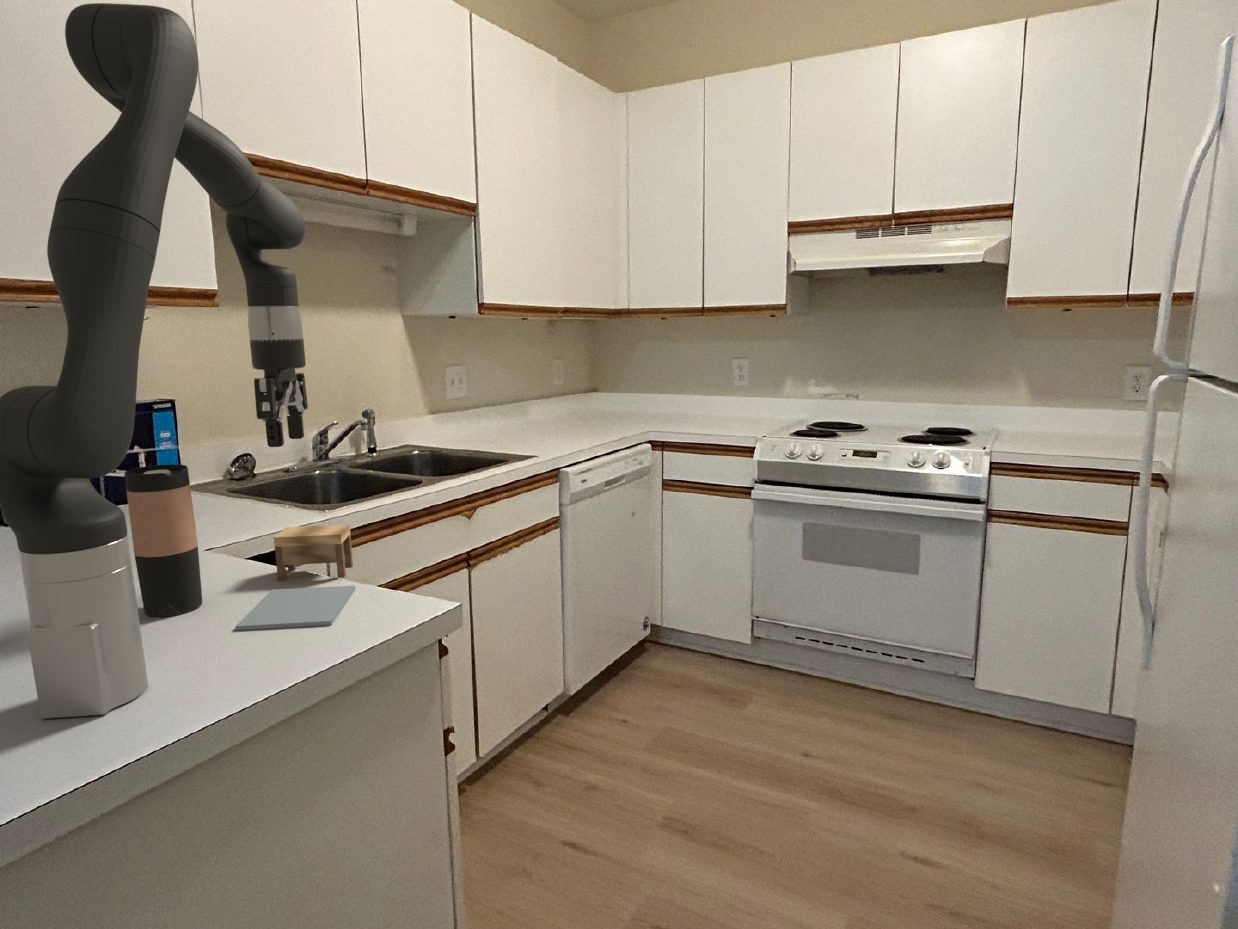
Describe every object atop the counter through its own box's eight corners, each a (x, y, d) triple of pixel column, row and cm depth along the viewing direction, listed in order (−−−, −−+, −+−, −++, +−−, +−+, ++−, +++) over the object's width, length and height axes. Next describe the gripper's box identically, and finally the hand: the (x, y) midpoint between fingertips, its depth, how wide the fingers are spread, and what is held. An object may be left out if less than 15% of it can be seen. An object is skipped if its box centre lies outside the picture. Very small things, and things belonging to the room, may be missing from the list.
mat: (331, 625, 100) (331, 620, 100) (236, 630, 99) (235, 626, 99) (355, 589, 114) (355, 585, 114) (272, 593, 113) (271, 589, 113)
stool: (353, 565, 125) (349, 524, 124) (344, 577, 119) (340, 534, 118) (289, 568, 124) (285, 527, 123) (278, 580, 118) (273, 537, 117)
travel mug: (148, 602, 110) (130, 466, 106) (208, 595, 112) (192, 462, 109) (136, 621, 103) (116, 476, 99) (200, 613, 105) (183, 471, 102)
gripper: (283, 337, 109) (294, 449, 112) (317, 336, 123) (326, 435, 126) (230, 338, 109) (242, 450, 111) (270, 336, 123) (279, 436, 125)
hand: (286, 442), depth 119 cm, fingers open, 8 cm apart
